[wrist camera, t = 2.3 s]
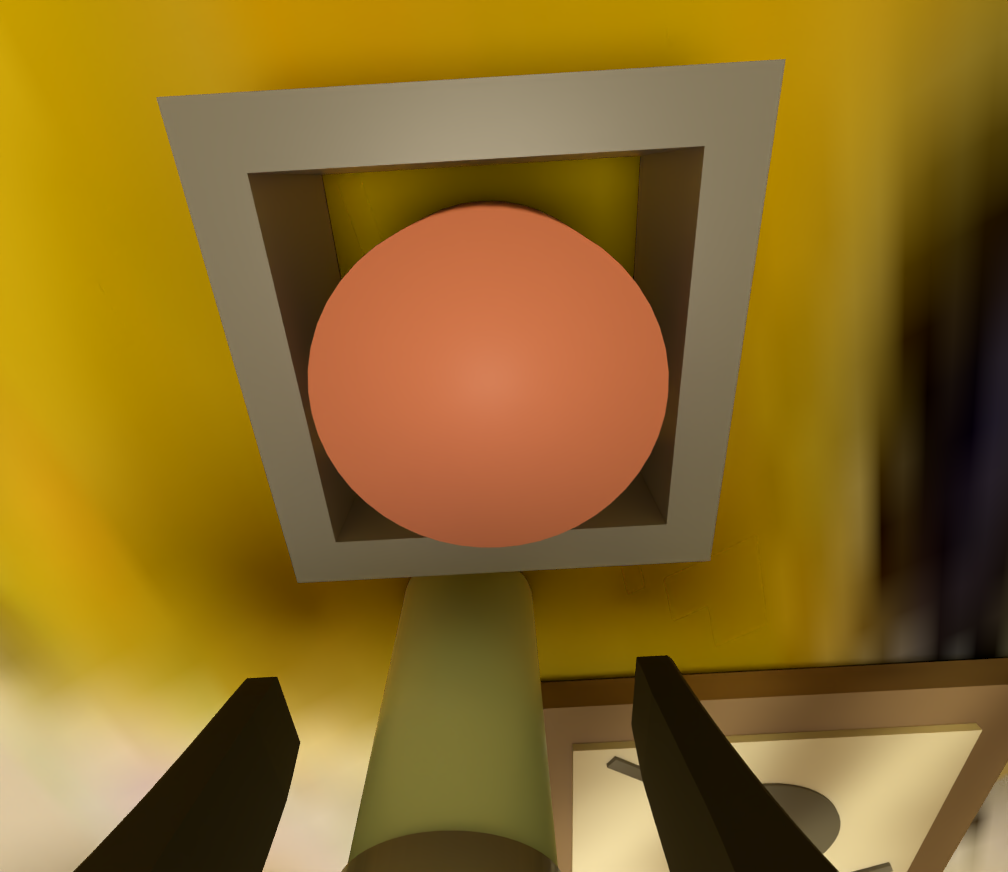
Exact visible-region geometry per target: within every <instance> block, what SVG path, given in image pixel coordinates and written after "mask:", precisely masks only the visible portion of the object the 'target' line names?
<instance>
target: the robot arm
mask: <svg viewBox="0 0 1008 872" xmlns="http://www.w3.org/2000/svg"><path fill="white" fill-rule="evenodd" d="M631 726H632V731H633V736H634V741H635V747H636V752H637V757H638V762H639V766H640V771H641V776H642V781H643V784H644V788H645V791H646V795H647V798H648V801H649V805H650V808H651V811H652V815H653V818H654V821H655V825H656V828H657V831H658V835H659V838H660V841H661V845H662V848H663V851H664V854H665V858H666V861H667V864H668V868H669V871H670V872H839V871H838V870H837V869H836V868H835V867H834V866H833V865H832V863H831V862H830V861H829V860H828V859H827V858H826V857H825V856H824V855H823V854H822V853H821V852H820V851H819V849H818V848H817V847H816V846H815V845H814V844H813V843H812V842H811V840H810V839H809V838H808V837H807V836H806V835H805V834H804V833H803V831H802V830H801V829H800V828H799V827H798V826H797V825H796V823H795V822H794V821H793V820H792V819H791V818H790V816H789V815H788V814H787V813H786V812H785V810H784V809H783V808H782V807H781V806H780V805H779V803H778V802H777V801H776V800H775V799H774V797H773V796H772V795H771V794H770V793H769V791H768V790H767V789H766V788H765V787H764V785H763V784H762V783H761V782H760V780H759V779H758V778H757V777H756V775H755V774H754V773H753V772H752V770H751V769H750V768H749V766H748V765H747V764H746V763H745V761H744V760H743V759H742V757H741V756H740V755H739V754H738V752H737V751H736V750H735V748H734V747H733V746H732V744H731V743H730V742H729V741H728V739H727V738H726V737H725V735H724V734H723V733H722V731H721V730H720V729H719V727H718V726H717V725H716V723H715V722H714V720H713V719H712V718H711V716H710V715H709V713H708V712H707V711H706V709H705V708H704V706H703V705H702V704H701V702H700V701H699V699H698V698H697V696H696V695H695V693H694V692H693V691H692V689H691V688H690V686H689V685H688V683H687V682H686V680H685V679H684V677H683V675H682V674H681V672H680V671H679V669H678V668H677V666H676V665H675V663H674V661H673V660H672V659H671V658H670V657H669V656H667V655H666V656H647V657H637V660H636V672H635V684H634V696H633V709H632V721H631ZM299 745H300V741H299V738H298V735H297V732H296V729H295V726H294V723H293V721H292V718H291V715H290V712H289V709H288V706H287V703H286V701H285V698H284V695H283V692H282V689H281V686H280V683H279V681H278V678H277V677H264V678H247V679H246V680H245V681H244V682H243V683H242V684H241V686H240V687H239V688H238V689H237V690H236V691H235V692H234V694H233V695H232V696H231V697H230V698H229V700H228V701H227V702H226V703H225V704H224V705H223V707H222V708H221V709H220V710H219V711H218V713H217V714H216V715H215V716H214V717H213V718H212V720H211V721H210V722H209V723H208V724H207V726H206V727H205V728H204V729H203V730H202V731H201V733H200V734H199V735H198V736H197V737H196V738H195V740H194V741H193V742H192V743H191V744H190V745H189V747H188V748H187V749H186V750H185V751H184V752H183V754H182V755H181V756H180V757H179V758H178V759H177V760H176V762H175V763H174V764H173V765H172V766H171V767H170V768H169V769H168V771H167V772H166V773H165V774H164V775H163V776H162V777H161V779H160V780H159V781H158V782H157V783H156V784H155V785H154V786H153V788H152V789H151V790H150V791H149V792H148V793H147V794H146V795H145V797H144V798H143V799H142V800H141V801H140V802H139V803H138V804H137V805H136V806H135V807H134V809H133V810H132V811H131V812H130V813H129V814H128V815H127V816H126V817H125V818H124V819H123V820H122V821H121V822H120V823H119V825H118V826H117V827H116V828H115V829H114V830H113V831H112V832H111V833H110V834H109V835H108V836H107V837H106V838H105V839H104V840H103V842H102V843H101V844H100V845H99V846H98V847H97V848H96V849H95V850H94V851H93V852H92V853H91V854H90V855H89V856H88V857H87V858H86V859H85V860H84V861H83V862H82V863H81V864H80V865H79V866H78V867H77V868H76V869H75V870H74V871H73V872H262V870H263V868H264V865H265V862H266V859H267V856H268V853H269V850H270V848H271V845H272V842H273V839H274V836H275V833H276V830H277V827H278V824H279V821H280V819H281V816H282V813H283V810H284V807H285V804H286V801H287V797H288V793H289V789H290V785H291V781H292V777H293V772H294V768H295V763H296V759H297V754H298V750H299Z"/></svg>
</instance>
